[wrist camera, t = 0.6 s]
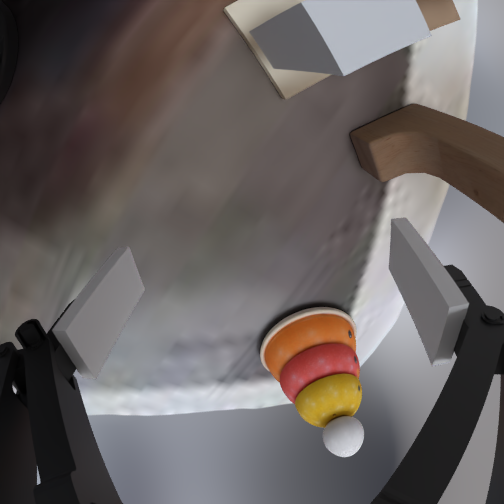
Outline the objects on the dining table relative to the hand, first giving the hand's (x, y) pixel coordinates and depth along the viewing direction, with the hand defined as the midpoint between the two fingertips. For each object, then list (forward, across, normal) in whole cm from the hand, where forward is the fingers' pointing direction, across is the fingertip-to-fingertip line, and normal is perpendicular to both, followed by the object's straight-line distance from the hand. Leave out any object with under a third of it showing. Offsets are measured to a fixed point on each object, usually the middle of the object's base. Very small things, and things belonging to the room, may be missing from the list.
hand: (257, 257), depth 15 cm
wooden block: (+21, +13, +2) cm, 24 cm away
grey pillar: (+16, +4, +12) cm, 20 cm away
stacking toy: (+21, +2, -26) cm, 33 cm away
